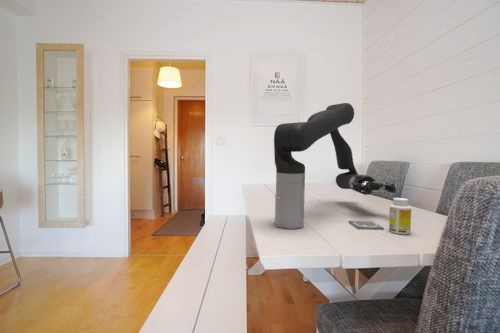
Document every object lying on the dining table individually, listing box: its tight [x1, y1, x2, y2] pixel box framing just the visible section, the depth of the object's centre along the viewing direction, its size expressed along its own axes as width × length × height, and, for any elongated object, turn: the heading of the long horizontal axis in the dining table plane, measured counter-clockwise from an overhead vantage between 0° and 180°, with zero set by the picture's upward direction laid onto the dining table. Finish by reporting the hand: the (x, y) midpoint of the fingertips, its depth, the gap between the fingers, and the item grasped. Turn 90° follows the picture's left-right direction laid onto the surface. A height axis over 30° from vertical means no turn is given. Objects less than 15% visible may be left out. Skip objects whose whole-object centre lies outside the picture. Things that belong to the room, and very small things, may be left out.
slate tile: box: [347, 220, 384, 231], centre depth 83 cm, size 8×8×1 cm
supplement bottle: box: [388, 197, 412, 235], centre depth 76 cm, size 6×6×10 cm
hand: (381, 189), depth 88 cm, fingers open, 8 cm apart
